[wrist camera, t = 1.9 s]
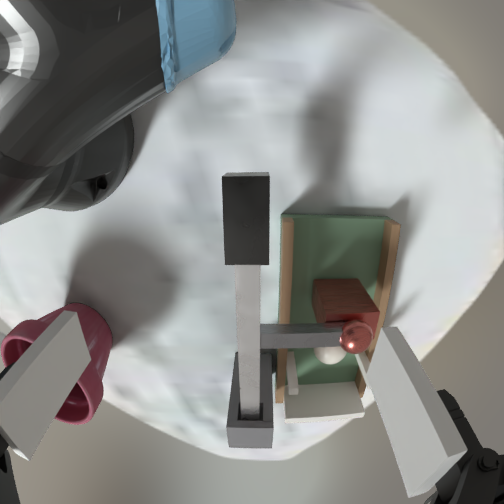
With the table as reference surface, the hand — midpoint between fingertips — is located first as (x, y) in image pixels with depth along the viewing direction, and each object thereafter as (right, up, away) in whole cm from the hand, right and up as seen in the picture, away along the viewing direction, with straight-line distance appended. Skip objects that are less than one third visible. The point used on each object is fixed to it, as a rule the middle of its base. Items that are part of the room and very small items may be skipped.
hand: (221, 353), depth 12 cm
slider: (+6, -1, +20) cm, 21 cm away
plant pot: (-23, -7, +26) cm, 35 cm away
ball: (+10, -7, +21) cm, 24 cm away
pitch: (+8, -3, +23) cm, 25 cm away
